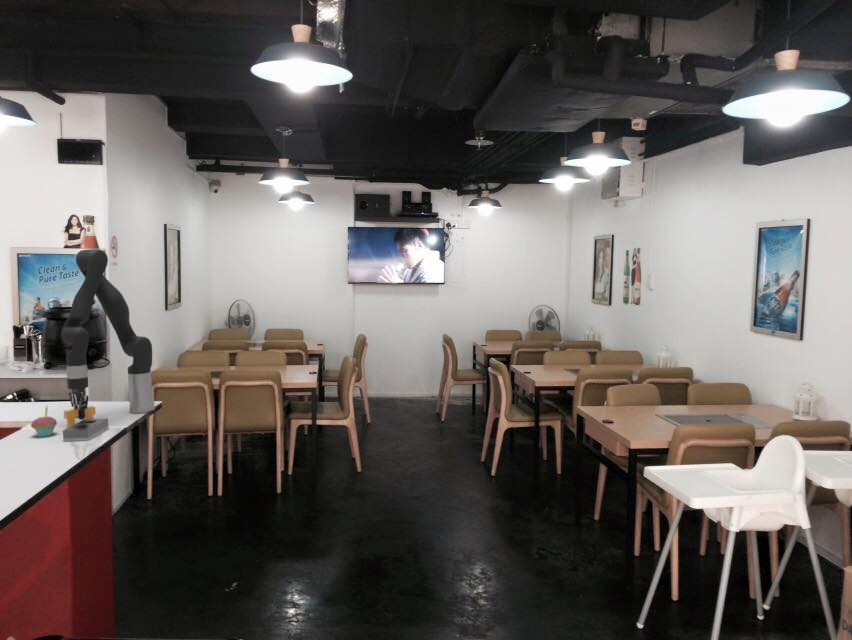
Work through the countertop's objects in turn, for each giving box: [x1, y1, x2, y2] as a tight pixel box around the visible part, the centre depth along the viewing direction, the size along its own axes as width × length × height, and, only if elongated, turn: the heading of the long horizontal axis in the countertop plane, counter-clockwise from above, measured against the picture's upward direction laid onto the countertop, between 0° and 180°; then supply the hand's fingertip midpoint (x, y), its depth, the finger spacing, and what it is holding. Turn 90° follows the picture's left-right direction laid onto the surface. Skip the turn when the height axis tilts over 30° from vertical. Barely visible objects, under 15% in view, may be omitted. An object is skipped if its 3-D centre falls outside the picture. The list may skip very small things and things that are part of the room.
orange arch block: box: [63, 405, 97, 429], centre depth 267 cm, size 11×3×7 cm, turn 139°
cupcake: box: [30, 405, 58, 438], centre depth 253 cm, size 9×8×12 cm
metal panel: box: [62, 418, 109, 442], centre depth 254 cm, size 18×9×4 cm, turn 4°
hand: (80, 418), depth 267 cm, fingers closed on orange arch block, 3 cm apart
